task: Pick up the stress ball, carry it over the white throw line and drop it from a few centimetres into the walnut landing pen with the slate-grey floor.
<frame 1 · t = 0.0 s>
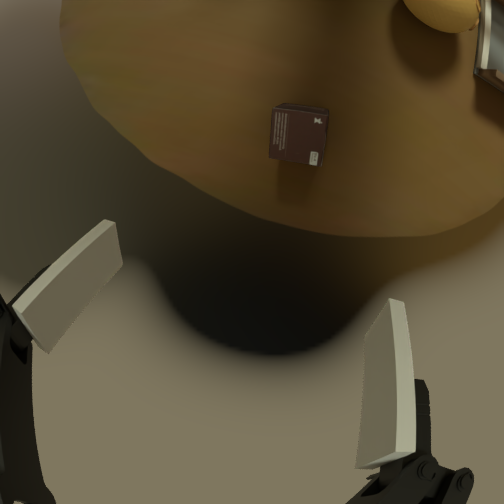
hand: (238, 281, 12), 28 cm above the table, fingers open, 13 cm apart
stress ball: (427, 6, 17), on the table
box: (304, 126, 33), on the table
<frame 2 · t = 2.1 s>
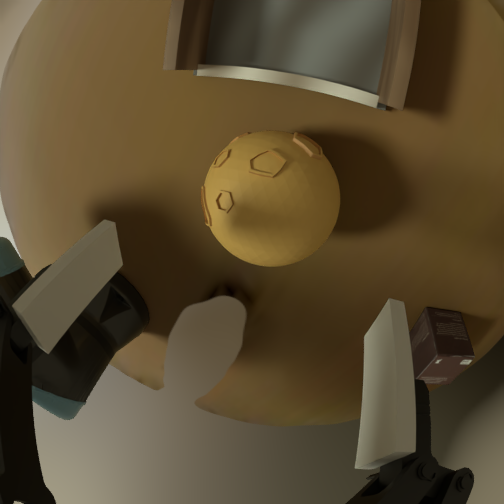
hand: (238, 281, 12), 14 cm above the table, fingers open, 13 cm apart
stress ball: (283, 174, 24), on the table
box: (433, 323, 29), on the table
landing pen: (301, 0, 14), on the table
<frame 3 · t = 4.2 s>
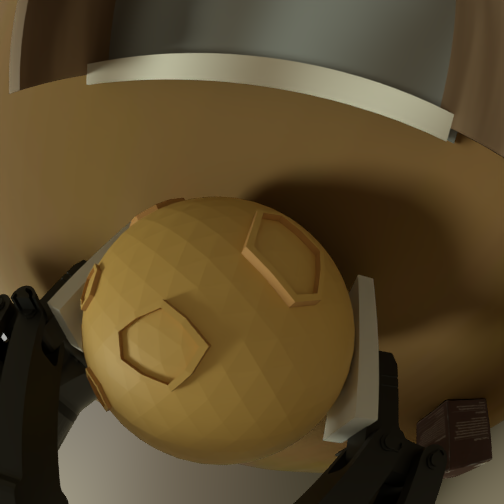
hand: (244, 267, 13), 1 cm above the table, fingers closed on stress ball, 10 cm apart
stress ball: (254, 251, 14), on the table, touching gripper
box: (451, 409, 19), on the table
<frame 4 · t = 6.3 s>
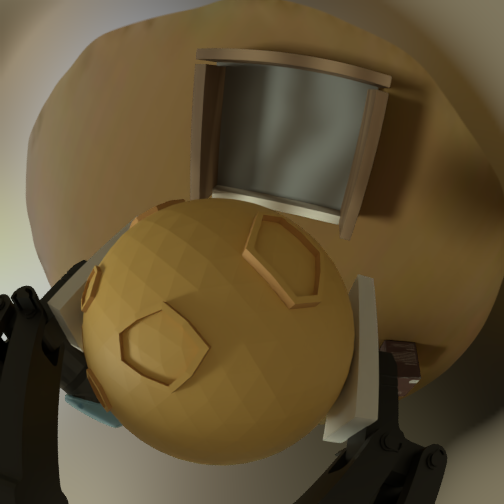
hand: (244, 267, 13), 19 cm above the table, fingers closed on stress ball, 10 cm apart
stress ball: (254, 252, 14), point 17 cm above the table, touching gripper
box: (393, 350, 40), on the table
landing pen: (287, 133, 26), on the table
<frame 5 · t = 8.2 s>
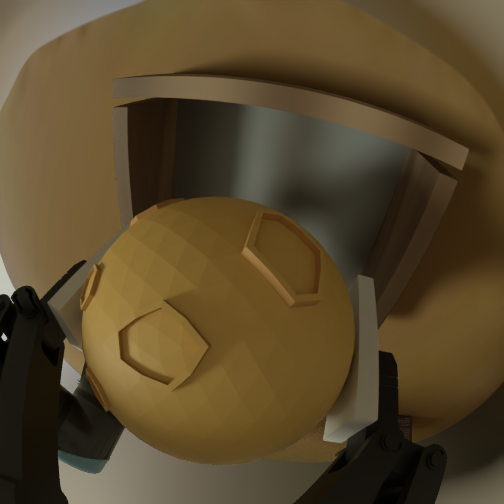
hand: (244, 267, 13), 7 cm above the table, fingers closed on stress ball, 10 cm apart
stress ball: (254, 251, 14), point 5 cm above the table, touching gripper
box: (387, 420, 33), on the table
landing pen: (274, 205, 18), on the table
when the fingers open (7 cm above the table, at t = 8.7 s): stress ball drops 5 cm, resting on landing pen.
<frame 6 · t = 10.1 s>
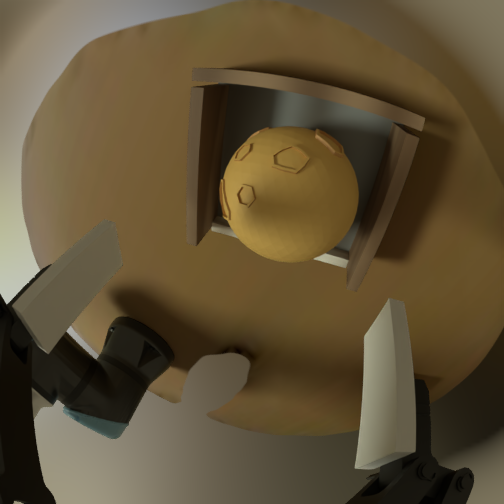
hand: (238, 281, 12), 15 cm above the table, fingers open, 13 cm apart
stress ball: (300, 170, 24), resting on landing pen
landing pen: (297, 166, 24), on the table
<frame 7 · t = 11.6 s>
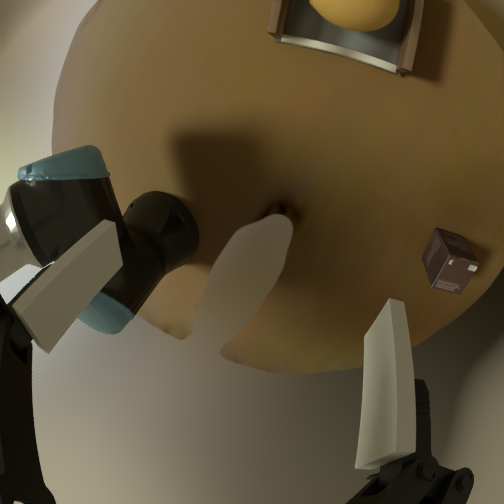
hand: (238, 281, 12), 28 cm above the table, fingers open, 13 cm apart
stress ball: (352, 5, 21), resting on landing pen
box: (442, 246, 36), on the table
landing pen: (349, 4, 21), on the table
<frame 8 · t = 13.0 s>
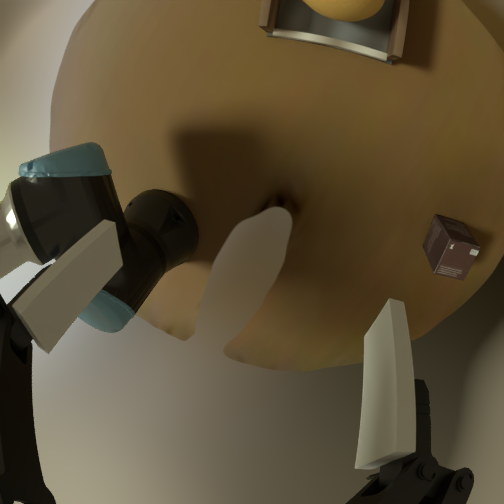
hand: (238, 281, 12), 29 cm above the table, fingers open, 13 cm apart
box: (442, 233, 36), on the table
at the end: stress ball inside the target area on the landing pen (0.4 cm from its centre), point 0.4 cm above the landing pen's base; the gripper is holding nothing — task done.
